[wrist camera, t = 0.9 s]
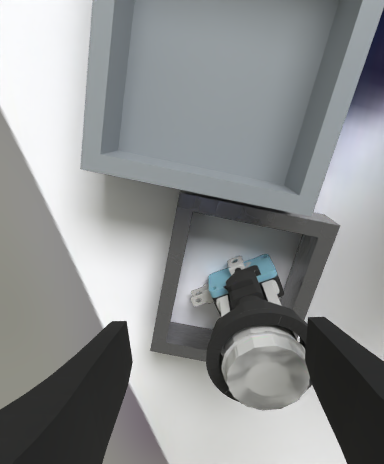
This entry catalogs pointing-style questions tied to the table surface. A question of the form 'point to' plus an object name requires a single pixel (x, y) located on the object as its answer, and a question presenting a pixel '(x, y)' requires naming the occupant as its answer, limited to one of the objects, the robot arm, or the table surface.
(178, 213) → the collar
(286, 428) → the table surface
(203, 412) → the table surface
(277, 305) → the push button
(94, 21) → the bin
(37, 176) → the table surface
